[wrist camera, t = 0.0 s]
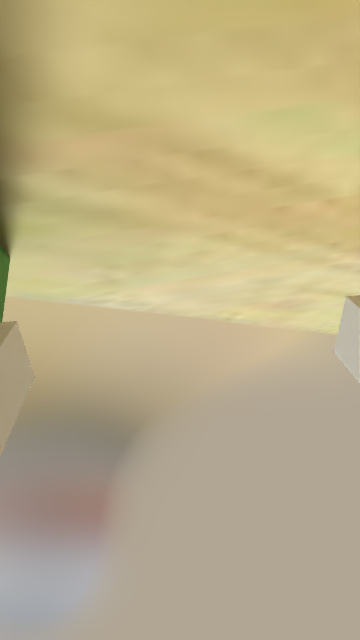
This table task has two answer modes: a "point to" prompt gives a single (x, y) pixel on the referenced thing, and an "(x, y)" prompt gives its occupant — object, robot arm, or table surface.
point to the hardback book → (3, 278)
